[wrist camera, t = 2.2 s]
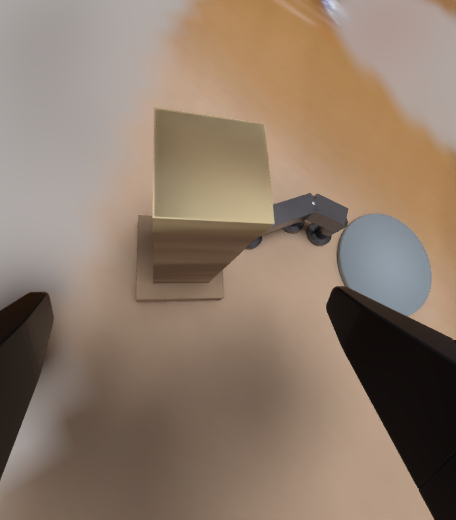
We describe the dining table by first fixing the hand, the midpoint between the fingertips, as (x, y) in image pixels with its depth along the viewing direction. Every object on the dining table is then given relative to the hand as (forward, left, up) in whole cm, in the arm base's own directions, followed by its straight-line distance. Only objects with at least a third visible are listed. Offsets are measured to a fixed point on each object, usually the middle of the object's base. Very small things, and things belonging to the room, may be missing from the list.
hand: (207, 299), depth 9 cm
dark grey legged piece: (+8, -7, -11) cm, 15 cm away
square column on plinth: (+4, +1, -11) cm, 11 cm away
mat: (+8, -16, -11) cm, 21 cm away
